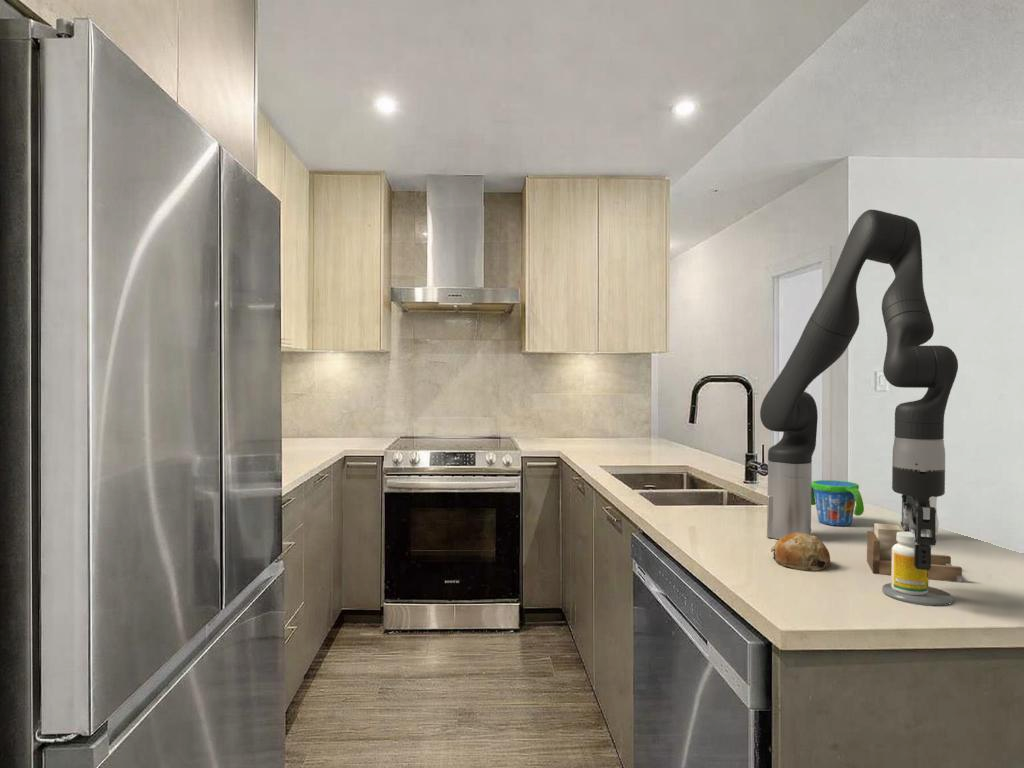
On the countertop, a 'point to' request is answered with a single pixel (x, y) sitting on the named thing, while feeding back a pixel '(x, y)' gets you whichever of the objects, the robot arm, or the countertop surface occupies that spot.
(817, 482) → the snack cup
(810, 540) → the bread roll
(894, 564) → the supplement bottle
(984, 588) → the countertop surface
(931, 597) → the coaster
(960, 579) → the rack
